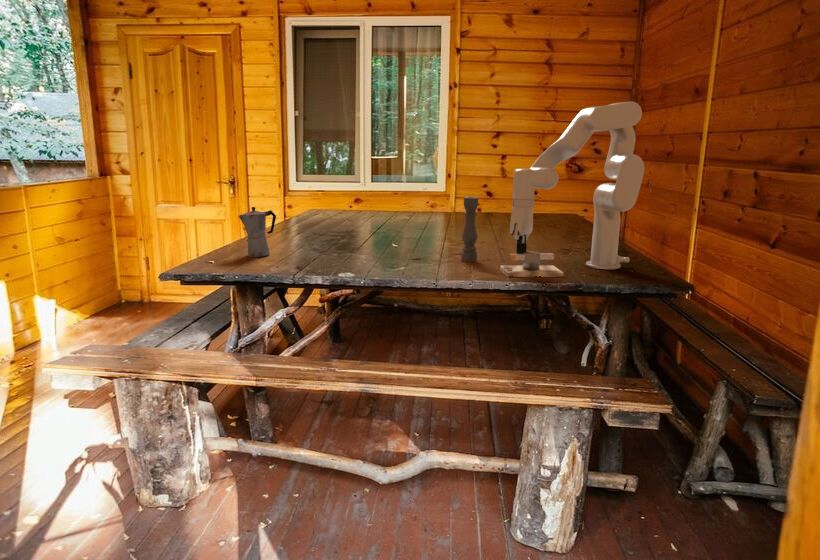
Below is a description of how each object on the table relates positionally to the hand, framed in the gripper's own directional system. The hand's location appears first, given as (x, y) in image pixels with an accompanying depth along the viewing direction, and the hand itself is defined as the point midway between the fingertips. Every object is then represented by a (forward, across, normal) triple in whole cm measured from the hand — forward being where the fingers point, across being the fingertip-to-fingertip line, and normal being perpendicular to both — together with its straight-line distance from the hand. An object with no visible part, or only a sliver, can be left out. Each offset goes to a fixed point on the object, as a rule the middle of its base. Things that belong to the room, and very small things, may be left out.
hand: (521, 253), depth 207 cm
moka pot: (+5, +43, -96) cm, 106 cm away
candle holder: (+6, -3, -24) cm, 25 cm away
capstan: (+5, +2, +5) cm, 7 cm away
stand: (+6, +2, +5) cm, 8 cm away
